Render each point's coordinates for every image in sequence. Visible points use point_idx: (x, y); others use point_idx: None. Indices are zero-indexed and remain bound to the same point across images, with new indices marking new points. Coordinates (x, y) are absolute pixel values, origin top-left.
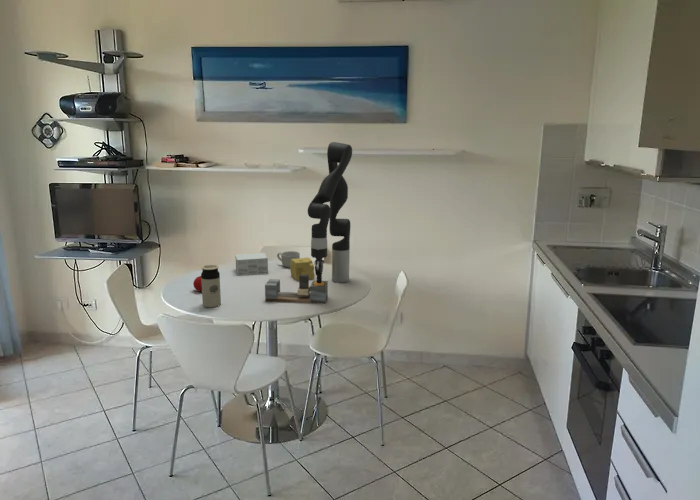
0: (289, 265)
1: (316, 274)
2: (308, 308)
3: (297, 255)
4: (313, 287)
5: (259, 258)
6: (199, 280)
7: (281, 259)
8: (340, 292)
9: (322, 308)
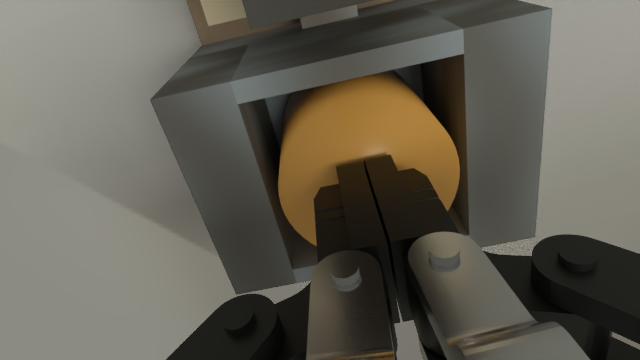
0: None
1: (207, 339)
2: (56, 78)
3: None
4: (175, 148)
5: None
6: None
7: None
8: (593, 198)
9: (133, 193)
